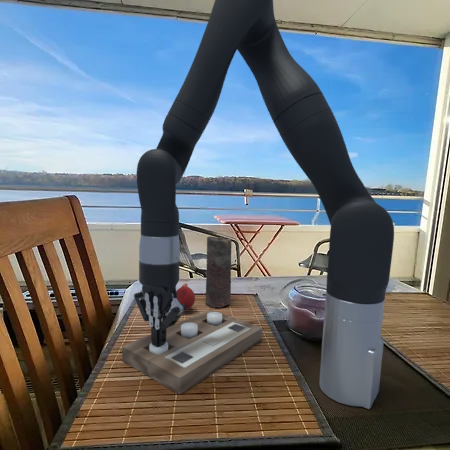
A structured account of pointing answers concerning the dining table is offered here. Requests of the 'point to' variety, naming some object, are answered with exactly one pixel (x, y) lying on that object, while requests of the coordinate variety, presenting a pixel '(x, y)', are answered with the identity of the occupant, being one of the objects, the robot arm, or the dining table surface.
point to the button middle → (189, 330)
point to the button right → (214, 318)
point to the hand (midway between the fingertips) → (158, 344)
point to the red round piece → (186, 296)
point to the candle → (218, 272)
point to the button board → (192, 351)
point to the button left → (158, 348)
